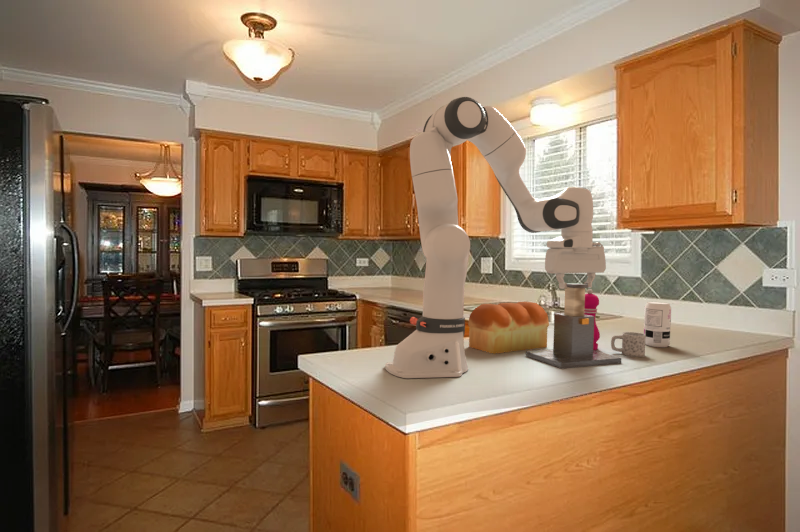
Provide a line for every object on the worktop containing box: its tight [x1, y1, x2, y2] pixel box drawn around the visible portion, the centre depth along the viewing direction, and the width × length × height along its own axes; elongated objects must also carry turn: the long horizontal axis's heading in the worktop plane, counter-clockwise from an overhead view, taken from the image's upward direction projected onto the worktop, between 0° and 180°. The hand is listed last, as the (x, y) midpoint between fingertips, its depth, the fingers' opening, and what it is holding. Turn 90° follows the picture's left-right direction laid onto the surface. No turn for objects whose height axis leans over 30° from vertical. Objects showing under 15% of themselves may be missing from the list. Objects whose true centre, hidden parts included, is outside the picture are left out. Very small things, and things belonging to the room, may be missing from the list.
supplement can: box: [643, 301, 672, 348], centre depth 173 cm, size 8×8×15 cm
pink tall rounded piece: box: [584, 288, 601, 351], centre depth 165 cm, size 7×7×20 cm
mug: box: [610, 331, 646, 358], centre depth 158 cm, size 10×7×7 cm
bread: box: [467, 301, 550, 355], centre depth 165 cm, size 25×12×15 cm, turn 122°
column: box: [563, 282, 589, 316], centre depth 148 cm, size 5×5×21 cm
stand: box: [525, 312, 622, 369], centre depth 148 cm, size 22×16×14 cm
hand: (575, 288), depth 148 cm, fingers open, 8 cm apart
